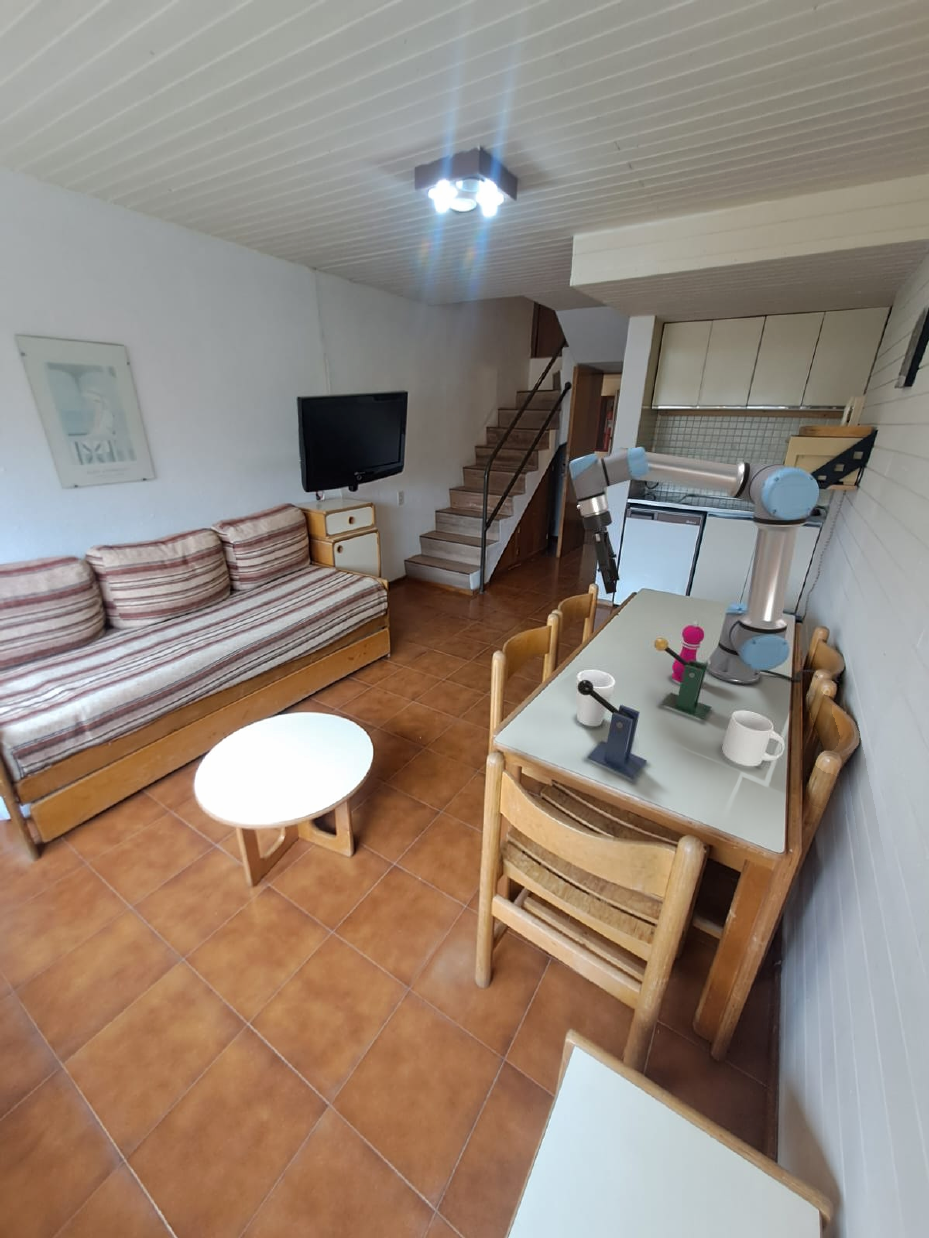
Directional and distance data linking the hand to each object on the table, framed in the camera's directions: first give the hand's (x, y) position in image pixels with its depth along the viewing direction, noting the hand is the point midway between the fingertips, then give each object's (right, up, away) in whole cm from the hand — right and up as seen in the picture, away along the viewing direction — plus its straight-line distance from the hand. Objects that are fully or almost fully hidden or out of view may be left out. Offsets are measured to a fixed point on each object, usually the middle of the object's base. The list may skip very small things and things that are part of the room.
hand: (613, 586), depth 139 cm
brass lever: (+15, -21, -4) cm, 26 cm away
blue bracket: (-7, -43, -24) cm, 50 cm away
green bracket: (+20, -34, -2) cm, 40 cm away
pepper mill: (+25, -29, +12) cm, 40 cm away
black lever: (-11, -30, -26) cm, 41 cm away
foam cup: (-9, -36, -9) cm, 39 cm away
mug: (+26, -43, -22) cm, 55 cm away
